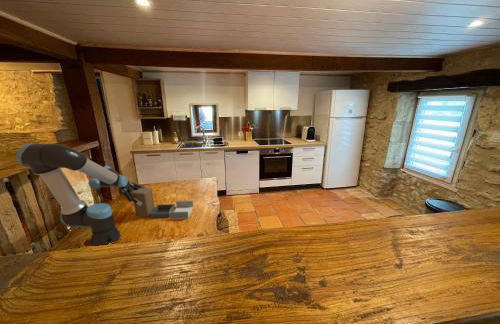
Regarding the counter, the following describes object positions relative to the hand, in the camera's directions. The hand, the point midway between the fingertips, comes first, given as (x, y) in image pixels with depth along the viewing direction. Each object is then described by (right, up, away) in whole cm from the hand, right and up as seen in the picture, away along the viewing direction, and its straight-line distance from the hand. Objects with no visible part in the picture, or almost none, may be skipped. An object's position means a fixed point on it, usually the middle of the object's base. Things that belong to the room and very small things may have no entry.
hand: (145, 200), depth 152 cm
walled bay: (+27, -10, +4) cm, 29 cm away
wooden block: (-1, -11, +2) cm, 11 cm away
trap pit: (+12, -11, +3) cm, 17 cm away
